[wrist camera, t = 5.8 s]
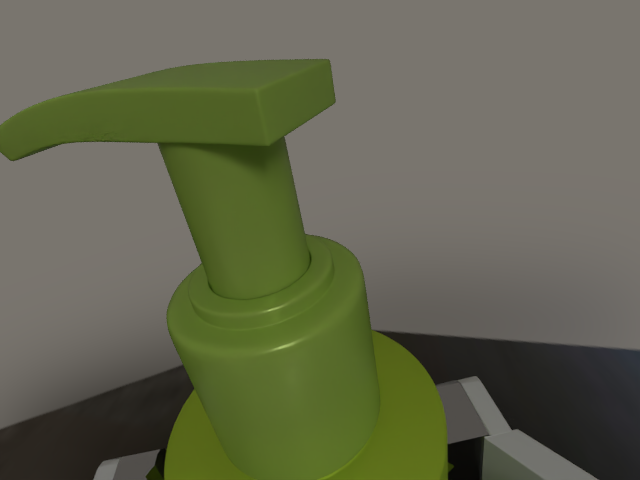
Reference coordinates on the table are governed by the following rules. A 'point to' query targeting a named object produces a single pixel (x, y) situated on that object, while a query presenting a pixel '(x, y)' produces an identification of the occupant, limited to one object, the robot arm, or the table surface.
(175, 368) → the table surface
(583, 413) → the table surface
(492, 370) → the table surface
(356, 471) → the soap dispenser
